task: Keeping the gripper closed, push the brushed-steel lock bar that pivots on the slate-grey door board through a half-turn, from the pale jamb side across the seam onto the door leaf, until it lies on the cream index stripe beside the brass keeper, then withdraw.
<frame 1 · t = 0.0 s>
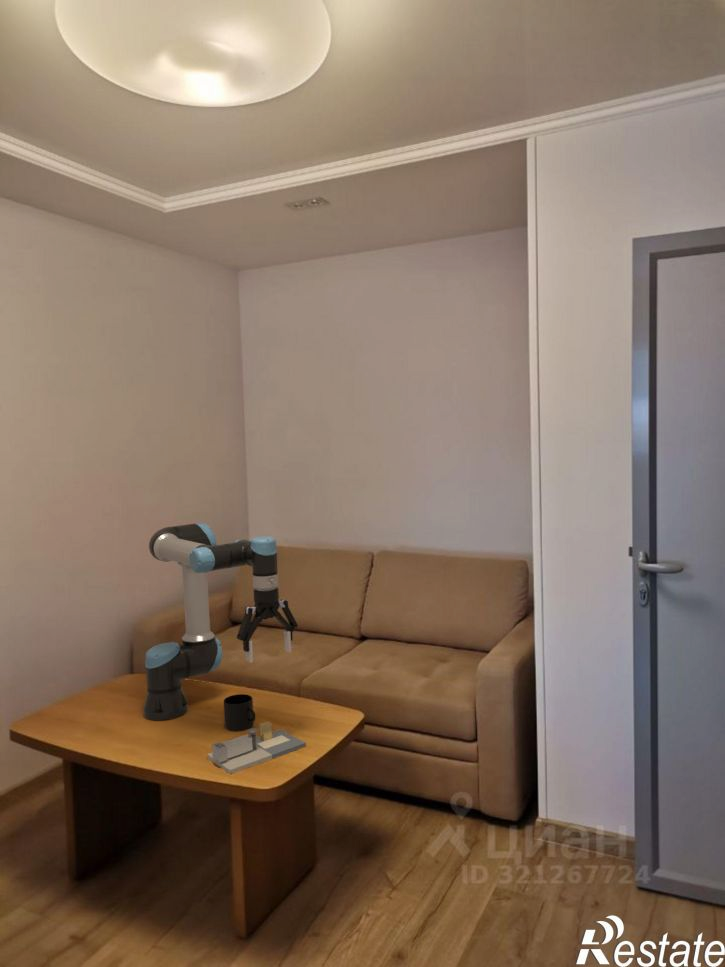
hand: (269, 656, 224), 28 cm above the table, fingers open, 13 cm apart
lock bar: (233, 747, 216), point 4 cm above the table, hinge at 0.0°
mug: (242, 727, 241), on the table
keeper: (266, 743, 228), resting on door board
door board: (257, 752, 221), on the table
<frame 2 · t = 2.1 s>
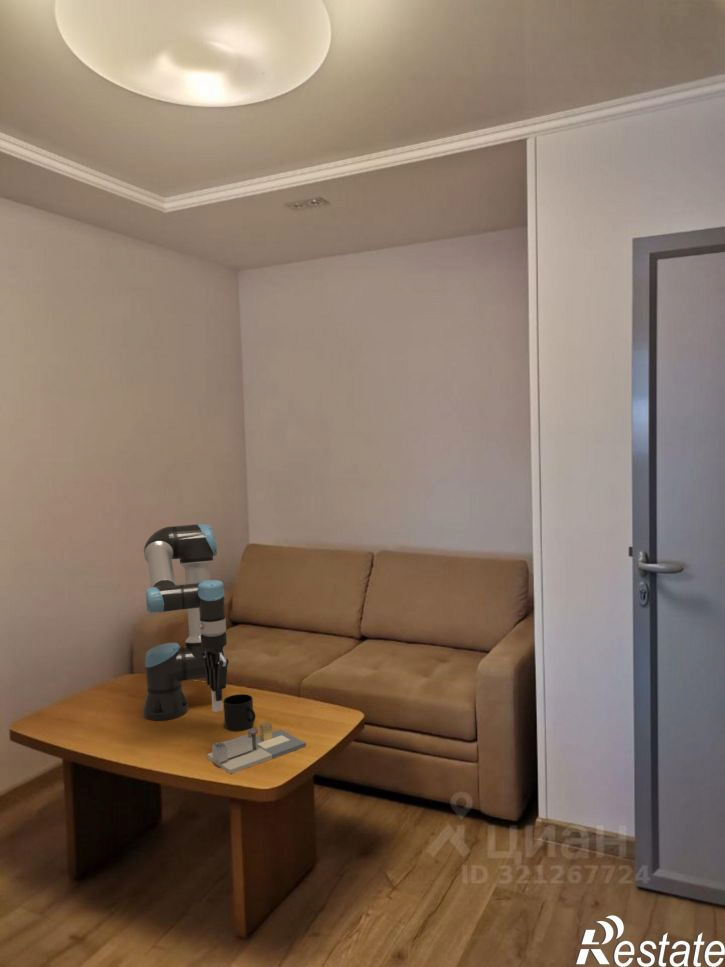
hand: (217, 710, 220), 14 cm above the table, fingers closed
nothing on the table moved.
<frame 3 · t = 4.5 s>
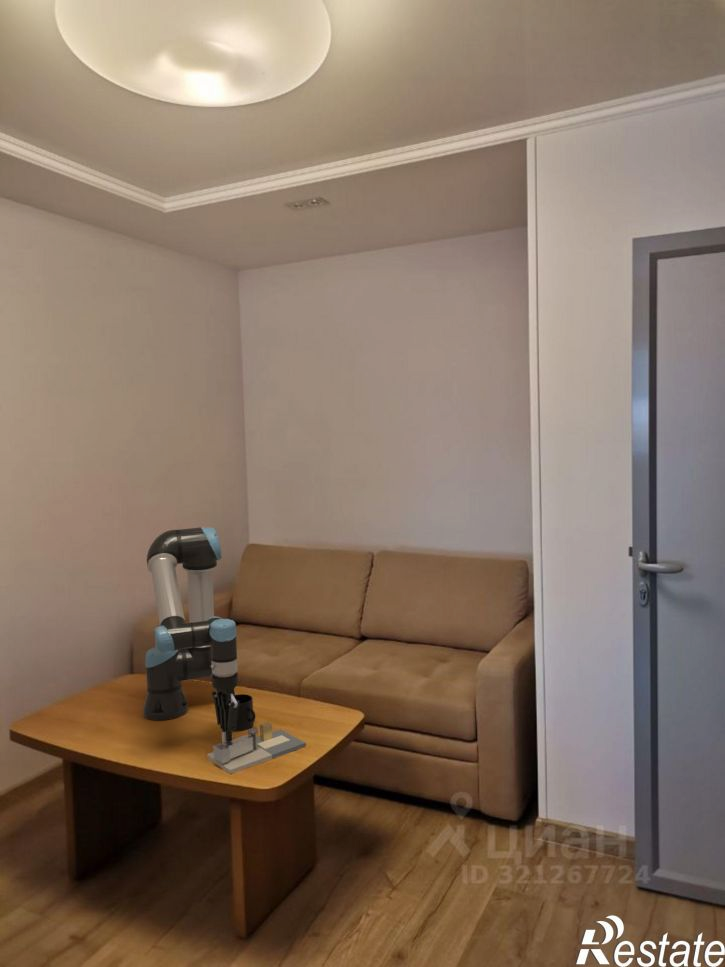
hand: (227, 750, 217), 3 cm above the table, fingers closed
lock bar: (234, 748, 216), point 4 cm above the table, hinge at 5.3°, touching gripper
everything else where it was.
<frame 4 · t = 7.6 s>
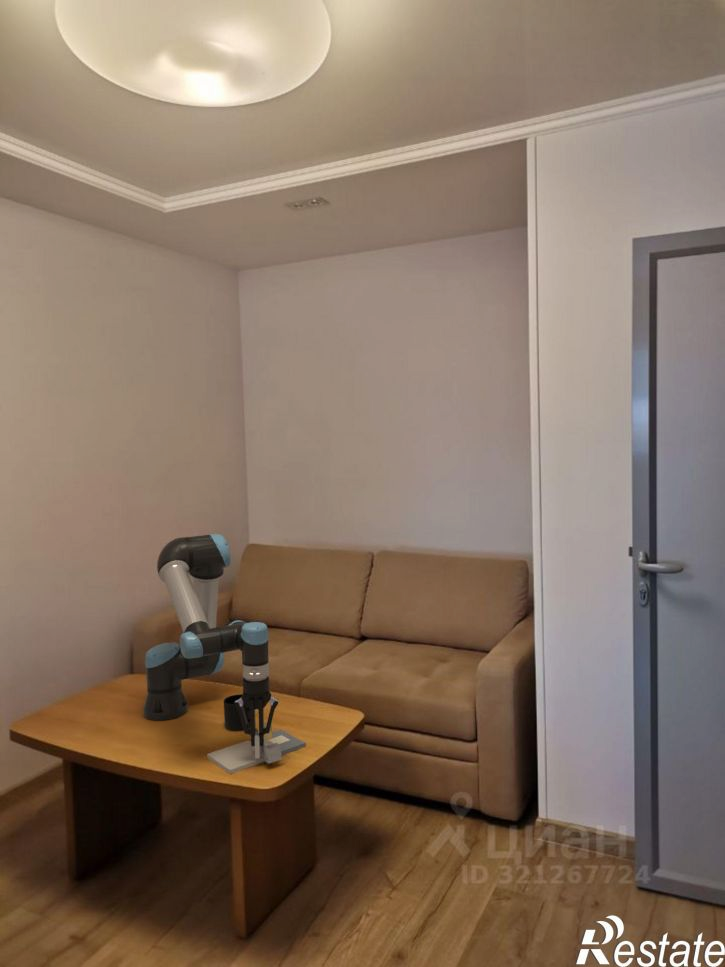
hand: (257, 756, 213), 3 cm above the table, fingers closed
lock bar: (264, 748, 215), point 4 cm above the table, hinge at 88.4°, touching gripper
everything else where it was.
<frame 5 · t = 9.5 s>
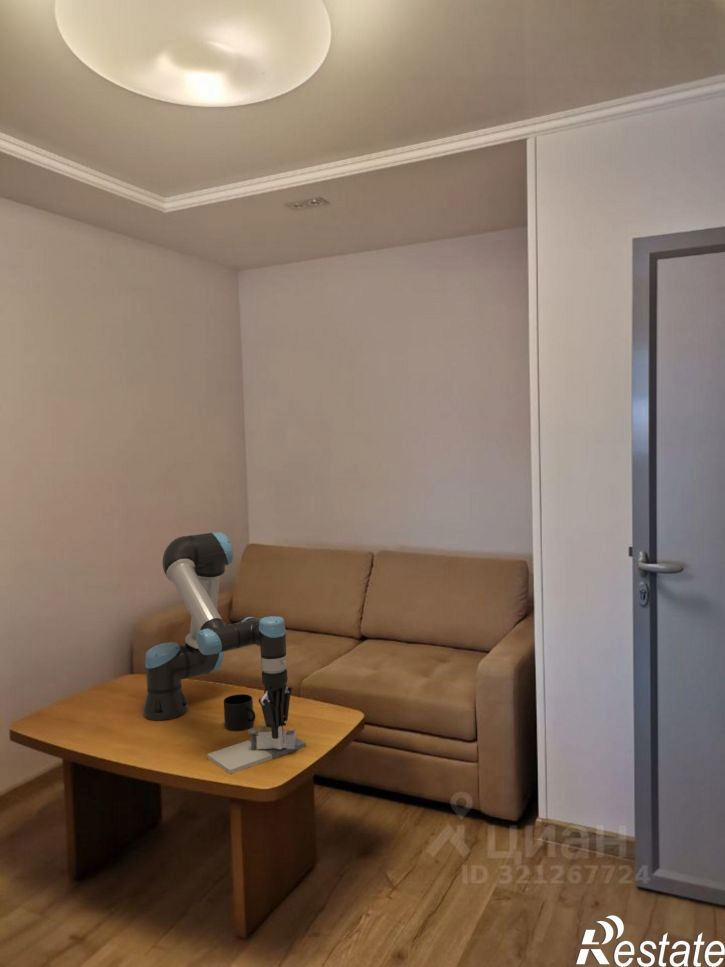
hand: (278, 747, 218), 3 cm above the table, fingers closed
lock bar: (276, 739, 221), point 4 cm above the table, hinge at 141.6°, touching gripper
everything else where it was.
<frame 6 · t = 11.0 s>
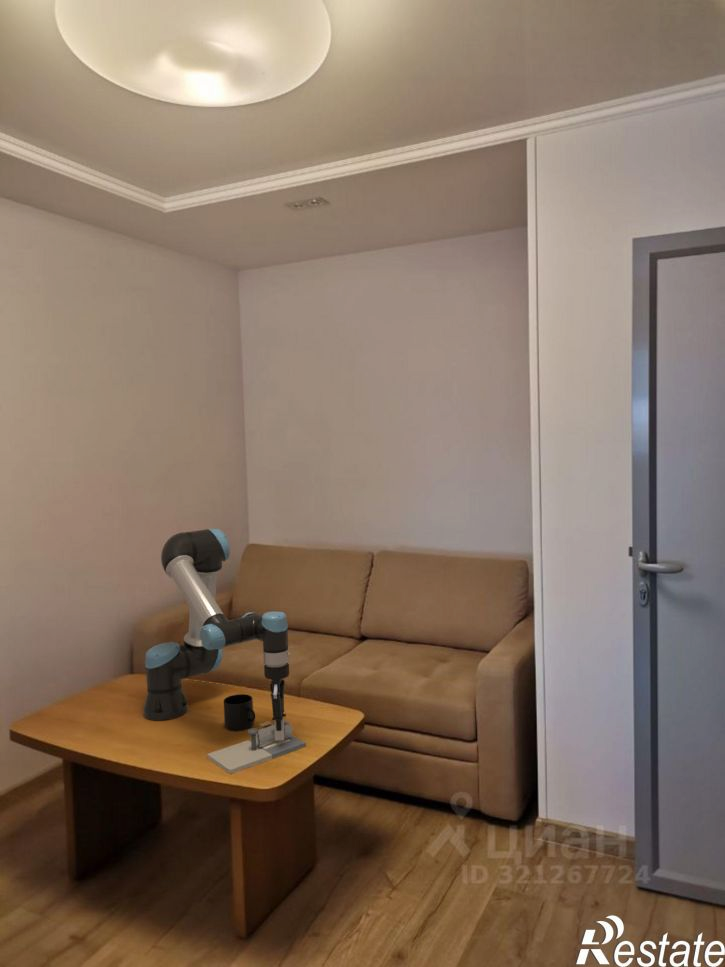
hand: (279, 739, 223), 3 cm above the table, fingers closed
lock bar: (272, 733, 225), point 4 cm above the table, hinge at 181.8°, touching gripper
everything else where it was.
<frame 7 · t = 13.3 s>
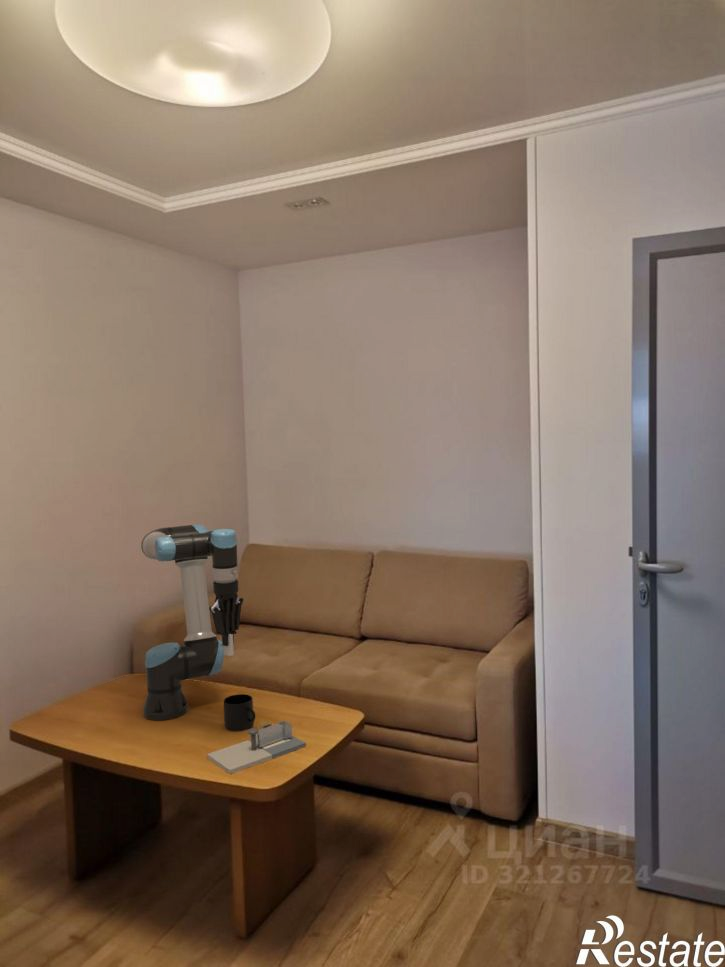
hand: (228, 654, 226), 28 cm above the table, fingers closed
lock bar: (272, 733, 225), point 4 cm above the table, hinge at 181.8°
everything else where it was.
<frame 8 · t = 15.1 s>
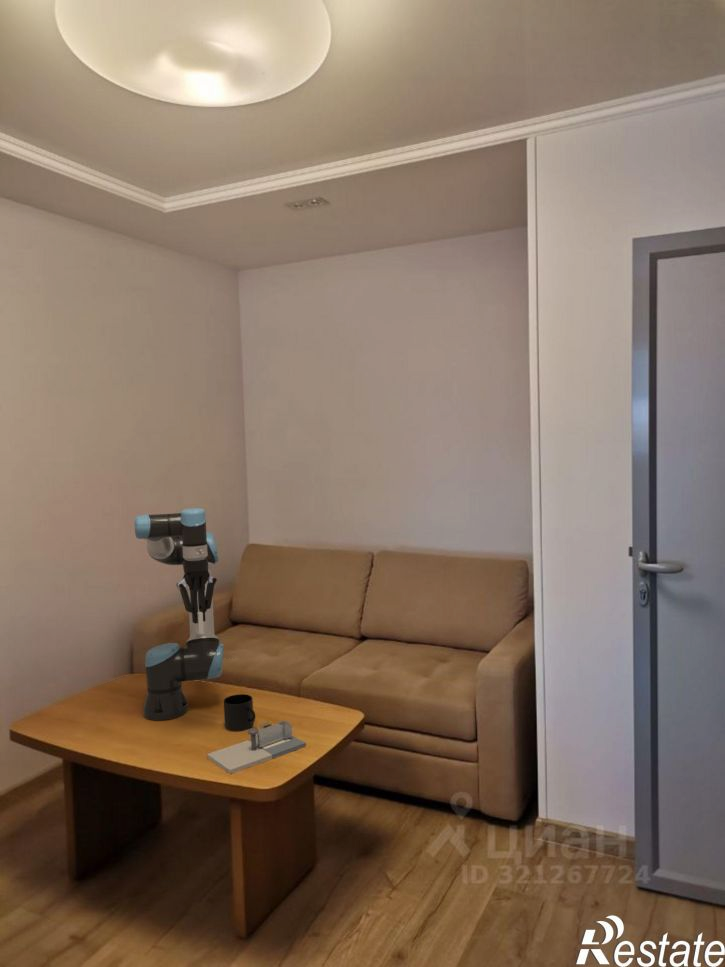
hand: (199, 632, 230), 34 cm above the table, fingers closed
nothing on the table moved.
at the end: lock bar at +182° (first picture: +0°) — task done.
